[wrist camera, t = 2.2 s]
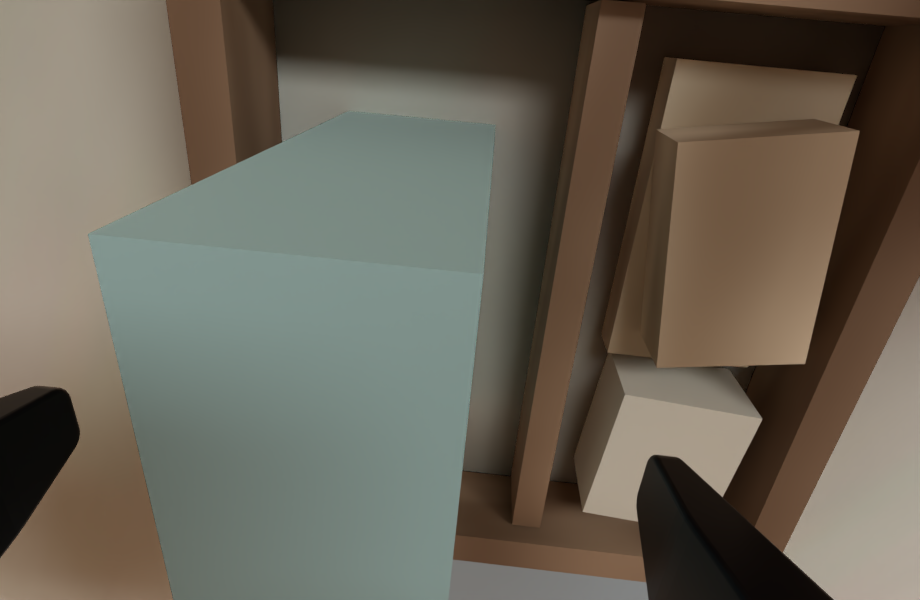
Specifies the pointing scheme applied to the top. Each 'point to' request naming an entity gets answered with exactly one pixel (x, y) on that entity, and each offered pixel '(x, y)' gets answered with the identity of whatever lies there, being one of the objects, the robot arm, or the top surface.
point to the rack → (573, 252)
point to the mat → (535, 584)
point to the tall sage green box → (307, 359)
